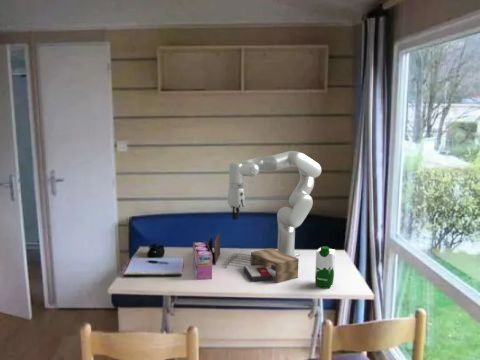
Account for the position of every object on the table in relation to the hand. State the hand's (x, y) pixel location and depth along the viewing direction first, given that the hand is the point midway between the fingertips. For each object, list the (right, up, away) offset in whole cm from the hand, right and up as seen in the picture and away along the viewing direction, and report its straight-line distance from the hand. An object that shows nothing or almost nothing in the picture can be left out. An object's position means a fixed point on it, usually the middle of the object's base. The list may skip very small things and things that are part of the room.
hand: (235, 219), depth 251 cm
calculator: (+12, -30, -9) cm, 33 cm away
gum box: (-18, -28, -4) cm, 33 cm away
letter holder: (-15, -25, +18) cm, 34 cm away
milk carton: (+44, -31, -20) cm, 58 cm away
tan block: (+20, -29, -5) cm, 35 cm away
